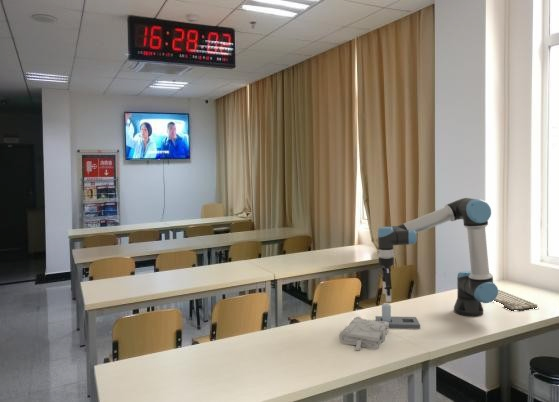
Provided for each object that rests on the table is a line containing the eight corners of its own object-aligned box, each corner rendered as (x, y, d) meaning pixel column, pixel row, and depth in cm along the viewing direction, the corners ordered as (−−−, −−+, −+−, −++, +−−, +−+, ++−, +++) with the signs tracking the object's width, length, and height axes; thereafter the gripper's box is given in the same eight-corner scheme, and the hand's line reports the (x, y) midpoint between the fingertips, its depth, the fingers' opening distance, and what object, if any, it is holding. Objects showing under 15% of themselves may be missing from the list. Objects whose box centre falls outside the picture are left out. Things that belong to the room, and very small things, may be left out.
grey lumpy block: (334, 348, 206) (335, 331, 205) (353, 328, 231) (353, 313, 230) (376, 355, 197) (376, 339, 197) (390, 334, 222) (391, 319, 222)
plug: (389, 322, 235) (389, 302, 235) (390, 325, 231) (390, 304, 231) (382, 322, 236) (381, 302, 235) (382, 325, 232) (382, 304, 231)
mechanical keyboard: (471, 294, 287) (471, 289, 286) (497, 292, 290) (497, 287, 290) (512, 313, 250) (512, 307, 250) (542, 310, 254) (542, 304, 253)
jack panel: (415, 321, 238) (415, 316, 237) (420, 329, 226) (420, 324, 226) (375, 320, 240) (375, 316, 240) (377, 328, 228) (377, 323, 228)
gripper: (376, 252, 244) (377, 290, 245) (381, 262, 219) (382, 304, 221) (390, 252, 243) (391, 290, 245) (396, 262, 218) (397, 304, 220)
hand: (387, 297), depth 233 cm, fingers open, 13 cm apart
